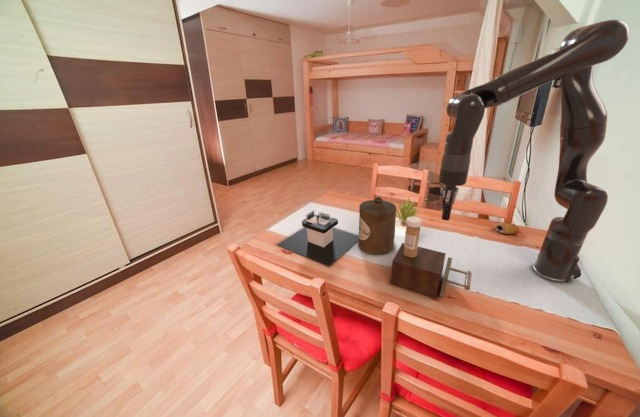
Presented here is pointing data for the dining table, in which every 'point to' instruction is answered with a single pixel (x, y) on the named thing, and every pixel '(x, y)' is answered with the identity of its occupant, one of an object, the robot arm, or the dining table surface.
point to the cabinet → (418, 271)
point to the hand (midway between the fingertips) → (445, 219)
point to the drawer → (445, 281)
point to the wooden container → (377, 226)
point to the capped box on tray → (320, 239)
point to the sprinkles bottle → (412, 236)
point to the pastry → (506, 228)
